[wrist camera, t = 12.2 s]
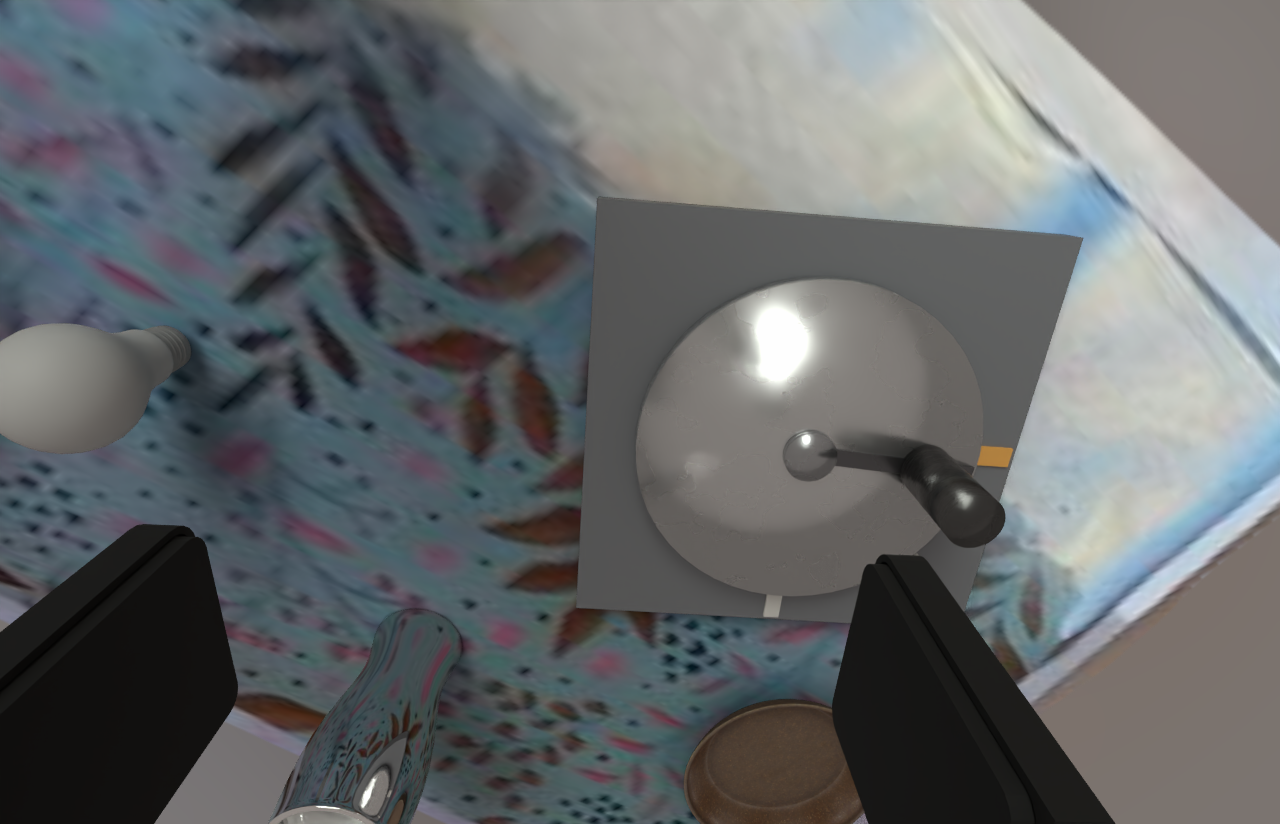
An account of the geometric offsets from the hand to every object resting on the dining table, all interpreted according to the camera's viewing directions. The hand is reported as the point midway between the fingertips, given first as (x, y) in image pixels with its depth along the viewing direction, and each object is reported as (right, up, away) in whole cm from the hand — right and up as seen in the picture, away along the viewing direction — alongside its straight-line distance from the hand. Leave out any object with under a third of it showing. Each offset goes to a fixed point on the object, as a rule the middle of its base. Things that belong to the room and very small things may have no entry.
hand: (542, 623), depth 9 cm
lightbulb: (-26, +7, +29) cm, 39 cm away
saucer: (+12, -23, +42) cm, 49 cm away
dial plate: (+11, +2, +31) cm, 33 cm away
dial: (+11, +1, +29) cm, 31 cm away
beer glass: (-14, -13, +37) cm, 42 cm away
